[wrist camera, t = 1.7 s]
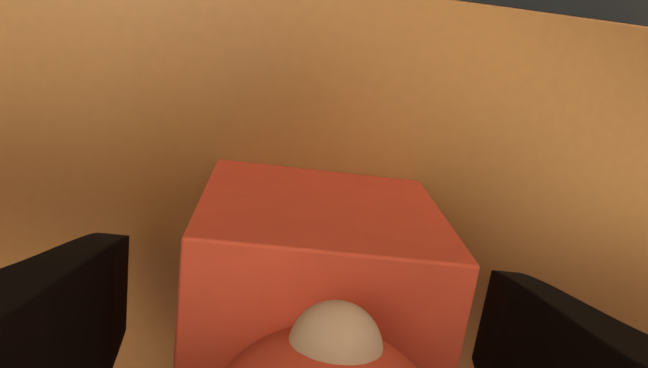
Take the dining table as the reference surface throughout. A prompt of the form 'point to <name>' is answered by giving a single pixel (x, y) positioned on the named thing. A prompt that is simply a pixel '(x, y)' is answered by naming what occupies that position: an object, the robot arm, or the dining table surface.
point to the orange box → (320, 273)
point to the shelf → (328, 131)
